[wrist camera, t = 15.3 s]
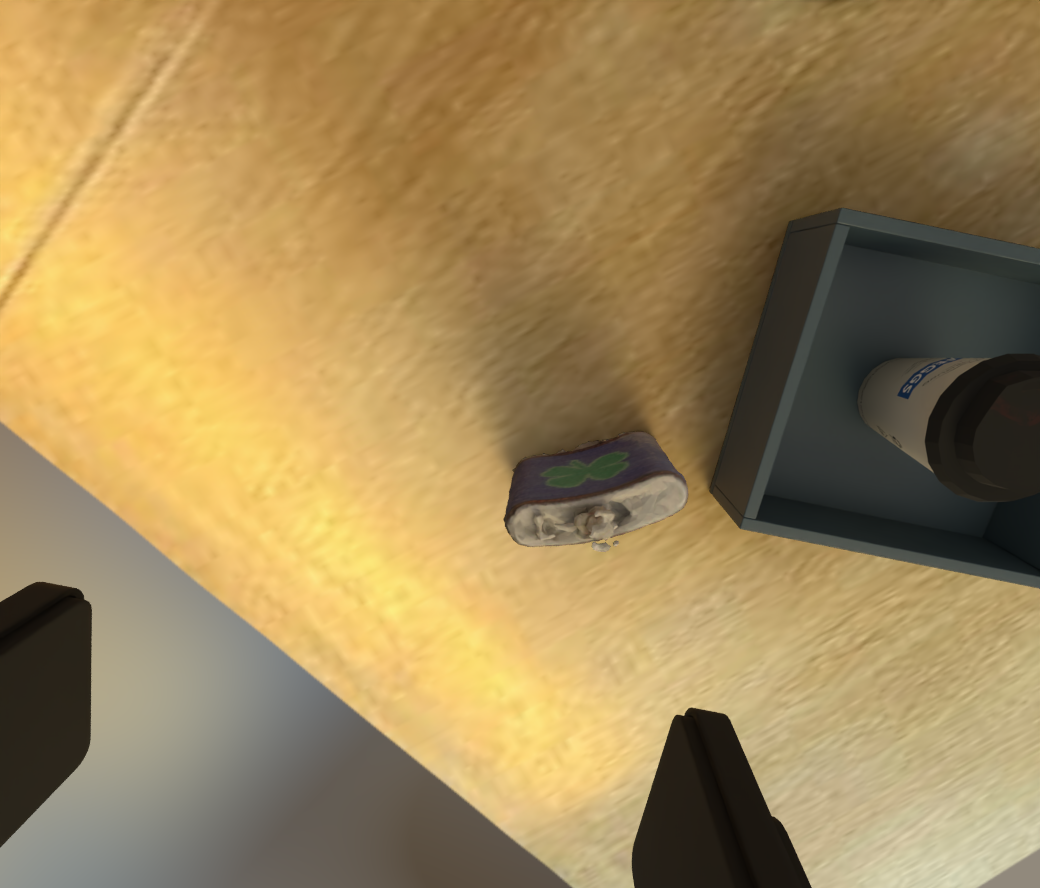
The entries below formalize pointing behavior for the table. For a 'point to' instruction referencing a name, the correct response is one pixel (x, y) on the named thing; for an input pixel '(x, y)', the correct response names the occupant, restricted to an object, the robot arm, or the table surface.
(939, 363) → the coffee cup
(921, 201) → the table surface
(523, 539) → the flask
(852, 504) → the tub
